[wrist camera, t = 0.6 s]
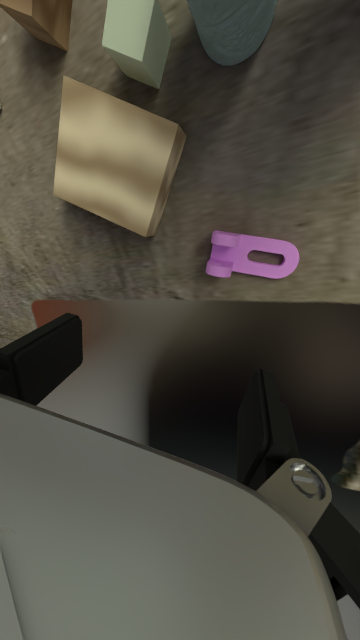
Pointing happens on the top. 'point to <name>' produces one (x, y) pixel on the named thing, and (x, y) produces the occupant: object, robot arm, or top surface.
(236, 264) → the bracket
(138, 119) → the birch block
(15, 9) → the walnut cube
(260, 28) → the teal cylinder
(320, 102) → the top surface
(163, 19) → the sage cube
